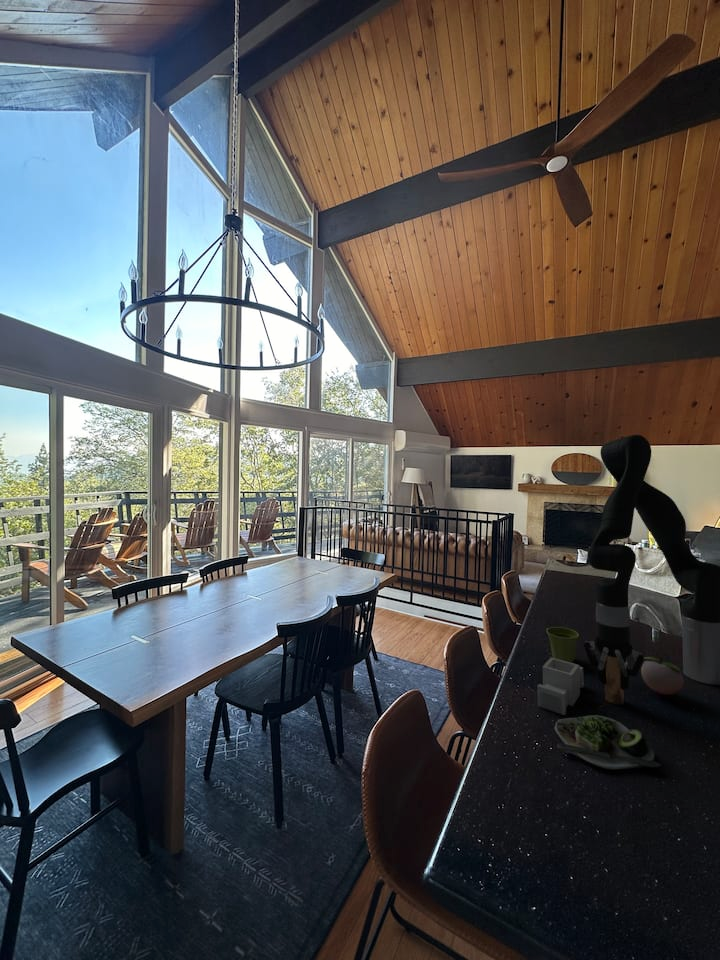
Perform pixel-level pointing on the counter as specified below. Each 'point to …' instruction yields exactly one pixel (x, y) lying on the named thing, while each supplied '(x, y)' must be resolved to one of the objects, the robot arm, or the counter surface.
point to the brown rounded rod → (613, 681)
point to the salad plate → (605, 743)
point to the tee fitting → (559, 685)
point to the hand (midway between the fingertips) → (614, 685)
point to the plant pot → (562, 643)
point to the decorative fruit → (662, 676)
